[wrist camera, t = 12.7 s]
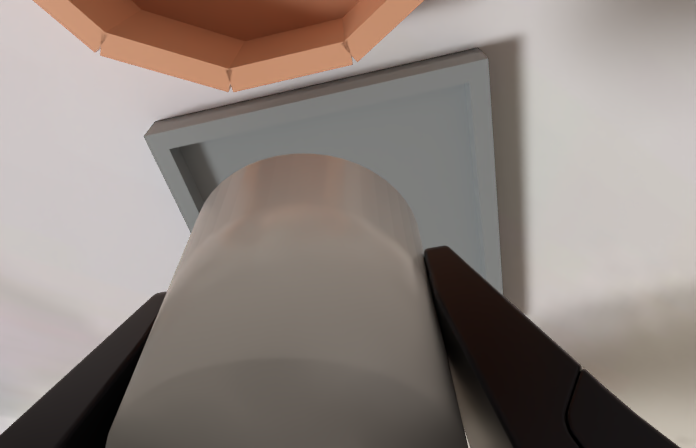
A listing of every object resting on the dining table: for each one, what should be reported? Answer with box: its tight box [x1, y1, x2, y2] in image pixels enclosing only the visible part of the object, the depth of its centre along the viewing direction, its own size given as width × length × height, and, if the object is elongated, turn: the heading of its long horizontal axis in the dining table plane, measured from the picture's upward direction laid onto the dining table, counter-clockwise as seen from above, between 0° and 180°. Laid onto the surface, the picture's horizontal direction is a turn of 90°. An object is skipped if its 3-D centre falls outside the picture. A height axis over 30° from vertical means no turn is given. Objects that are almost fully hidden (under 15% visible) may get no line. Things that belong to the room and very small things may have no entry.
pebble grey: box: [105, 154, 468, 448], centre depth 8 cm, size 4×4×4 cm
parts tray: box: [144, 48, 503, 295], centre depth 22 cm, size 14×13×1 cm
